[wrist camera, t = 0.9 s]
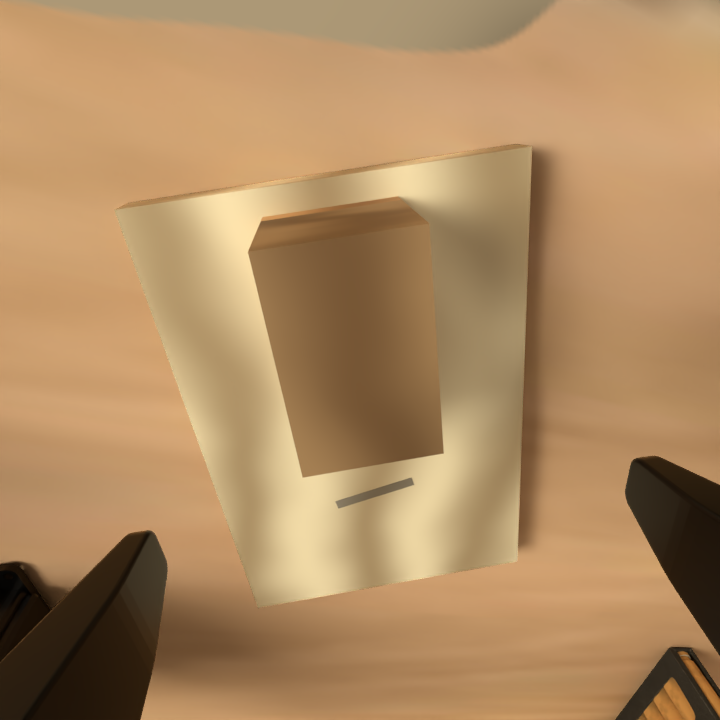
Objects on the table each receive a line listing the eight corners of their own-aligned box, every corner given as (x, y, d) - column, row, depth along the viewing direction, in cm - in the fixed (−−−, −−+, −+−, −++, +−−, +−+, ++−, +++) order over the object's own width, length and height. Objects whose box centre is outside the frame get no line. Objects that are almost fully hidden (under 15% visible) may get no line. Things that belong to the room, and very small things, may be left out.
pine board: (260, 584, 28) (258, 608, 27) (128, 202, 18) (113, 210, 17) (507, 540, 29) (517, 562, 27) (515, 143, 19) (532, 146, 17)
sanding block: (303, 401, 21) (302, 477, 17) (262, 217, 17) (247, 251, 13) (414, 383, 21) (443, 453, 17) (397, 196, 18) (429, 223, 13)
